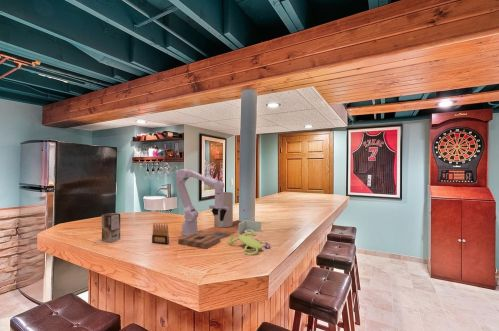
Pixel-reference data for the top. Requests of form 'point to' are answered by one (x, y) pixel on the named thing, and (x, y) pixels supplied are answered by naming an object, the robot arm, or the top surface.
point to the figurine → (249, 242)
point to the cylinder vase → (229, 213)
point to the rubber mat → (220, 234)
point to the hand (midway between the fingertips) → (219, 220)
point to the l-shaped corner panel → (249, 226)
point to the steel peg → (218, 221)
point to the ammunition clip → (160, 234)
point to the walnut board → (199, 240)
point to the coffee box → (110, 227)
